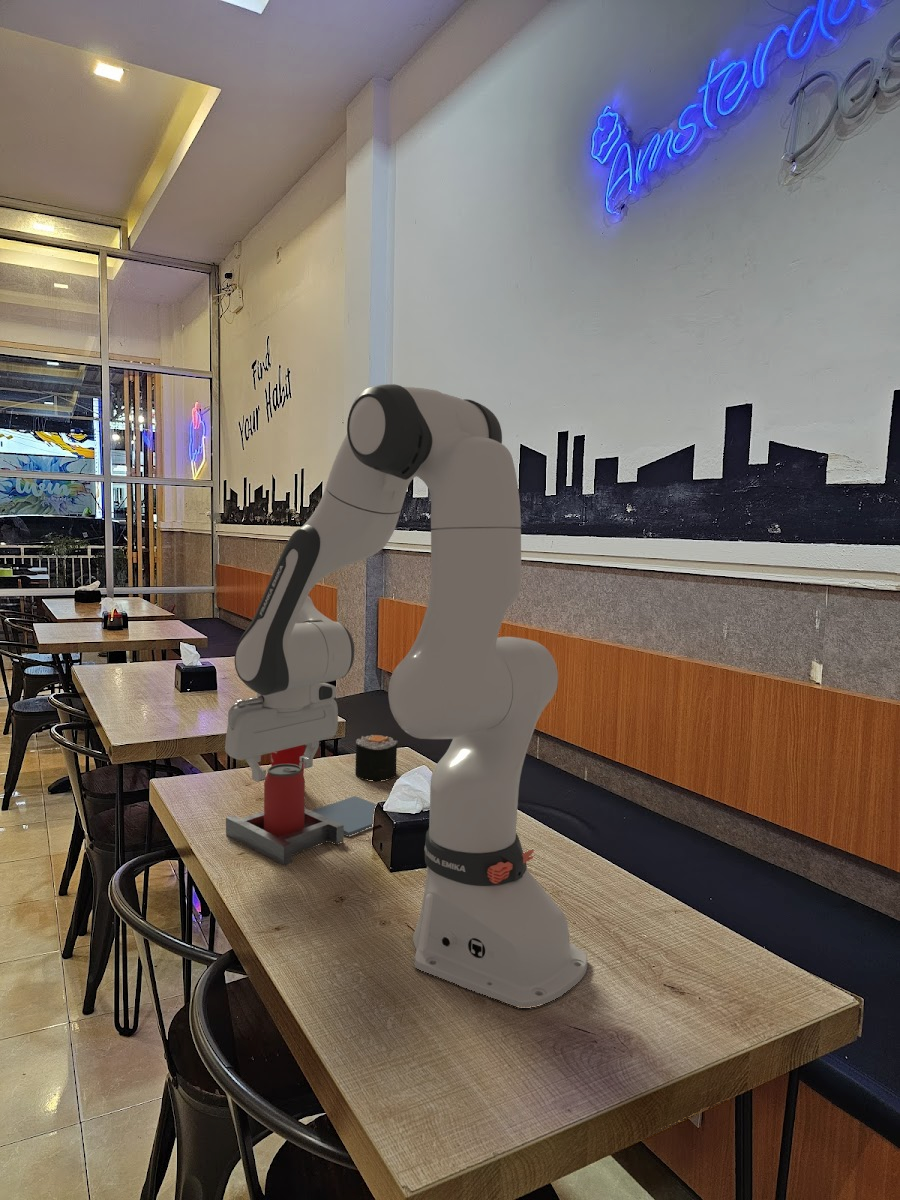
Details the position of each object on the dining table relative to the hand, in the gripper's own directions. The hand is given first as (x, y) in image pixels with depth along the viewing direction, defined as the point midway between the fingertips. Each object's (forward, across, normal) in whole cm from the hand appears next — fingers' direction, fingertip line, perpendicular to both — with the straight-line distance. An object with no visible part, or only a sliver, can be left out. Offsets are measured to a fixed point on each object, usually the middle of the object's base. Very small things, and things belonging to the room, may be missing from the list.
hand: (283, 773), depth 128 cm
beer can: (+11, 0, -1) cm, 11 cm away
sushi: (+12, +33, +12) cm, 37 cm away
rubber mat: (+11, +14, -2) cm, 18 cm away
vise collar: (+11, 0, -1) cm, 11 cm away
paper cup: (+12, +14, +17) cm, 25 cm away
